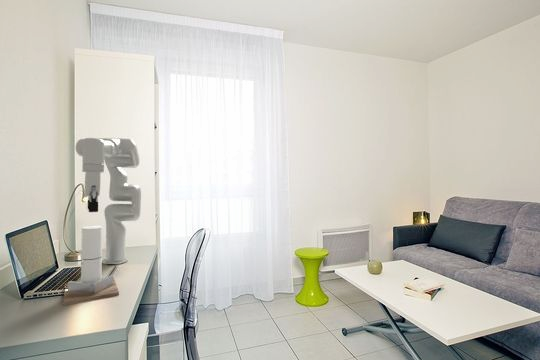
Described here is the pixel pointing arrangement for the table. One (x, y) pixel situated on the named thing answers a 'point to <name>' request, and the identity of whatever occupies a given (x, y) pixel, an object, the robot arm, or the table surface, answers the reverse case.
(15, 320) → the table surface
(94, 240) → the cylindrical container
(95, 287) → the v cradle
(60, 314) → the table surface
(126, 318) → the table surface
